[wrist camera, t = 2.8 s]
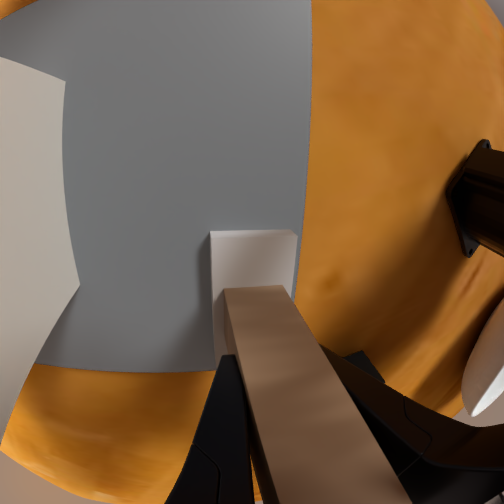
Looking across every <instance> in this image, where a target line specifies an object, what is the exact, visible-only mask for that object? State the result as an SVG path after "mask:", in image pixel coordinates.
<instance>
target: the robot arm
mask: <svg viewBox="0 0 504 504" xmlns="http://www.w3.org/2000/svg"><path fill="white" fill-rule="evenodd" d="M446 196H447V199H448V202H449V205H450V208H451V211H452V214H453V217H454V221H455V224H456V227H457V231H458V234H459V238H460V241H461V245H462V249H463V253H464V256H466V257H468V258H470V257H471V256H472V255H473V253H474V252H475V251H476V249H477V248H478V246H479V245H482V246H484V247H486V248H488V249H489V250H491V251H493V252H495V253H497V254H498V255H500V256H502V257H504V152H502V151H498V150H493V149H492V148H491V145H490V142H489V140H487V139H482V140H481V141H480V143H479V144H478V146H477V147H476V149H475V150H474V152H473V153H472V155H471V156H470V158H469V159H468V161H467V162H466V163H465V165H464V166H463V168H462V169H461V170H460V172H459V173H458V174H457V176H456V177H455V178H454V180H453V181H452V182H451V184H450V185H449V186H448V188H447V191H446ZM318 344H319V343H318ZM319 346H320V347H321V349H322V351H323V352H324V354H325V356H326V357H327V359H328V361H329V362H330V364H331V366H332V367H333V369H334V371H335V372H336V374H337V376H338V377H339V379H340V381H341V382H342V384H343V386H344V387H345V389H346V391H347V392H348V394H349V396H350V397H351V399H352V401H353V402H354V404H355V406H356V407H357V409H358V411H359V413H360V414H361V416H362V418H363V419H364V421H365V423H366V424H367V426H368V428H369V429H370V431H371V433H372V435H373V436H374V438H375V440H376V441H377V443H378V445H379V447H380V448H381V450H382V452H383V453H384V455H385V457H386V459H387V460H388V462H389V464H390V465H391V467H392V469H393V471H394V472H395V474H396V476H397V478H398V479H399V481H400V483H401V484H402V486H403V488H404V490H405V491H406V493H407V495H408V497H409V498H410V500H411V502H412V504H504V424H499V425H494V426H488V427H475V426H470V425H467V424H464V423H462V422H459V421H456V420H454V419H452V418H449V417H447V416H444V415H442V414H440V413H437V412H435V411H433V410H431V409H429V408H426V407H424V406H423V405H421V404H419V403H417V402H415V401H413V400H411V399H410V398H408V397H406V396H403V394H401V393H399V392H397V391H396V390H394V389H392V388H391V387H389V386H387V385H386V384H384V383H382V382H381V381H379V380H377V379H376V378H374V377H372V376H371V375H369V374H367V373H366V372H364V371H362V370H361V369H359V368H358V367H356V366H354V365H353V364H351V363H349V362H348V361H346V360H345V359H343V358H341V357H340V356H338V355H337V354H335V353H334V352H332V351H330V350H329V349H327V348H326V347H324V346H323V345H321V344H319ZM164 504H255V500H254V490H253V480H252V469H251V458H250V447H249V435H248V423H247V411H246V398H245V388H244V383H243V380H242V376H241V373H240V369H239V366H238V362H237V359H236V356H235V354H228V355H222V356H221V359H220V362H219V365H218V368H217V371H216V374H215V377H214V379H213V382H212V385H211V388H210V391H209V394H208V397H207V400H206V403H205V406H204V409H203V412H202V415H201V418H200V421H199V424H198V427H197V430H196V433H195V436H194V439H193V441H192V445H191V447H190V450H189V453H188V456H187V458H186V461H185V463H184V466H183V468H182V471H181V473H180V475H179V477H178V479H177V481H176V483H175V485H174V487H173V489H172V491H171V493H170V494H169V496H168V498H167V500H166V501H165V503H164Z"/></svg>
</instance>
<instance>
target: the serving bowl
mask: <svg viewBox="0 0 504 504" xmlns="http://www.w3.org/2000/svg"><path fill="white" fill-rule="evenodd" d="M461 391H462V399H463V403H464V406H465V408H466V410H467V412H468V414H469V415H470V416H471V417H474V416H476V415H478V414H479V413H480V412H482V411H483V410H484V409H485V408H487V407H488V406H489V405H490V404H491V403H492V402H493V401H494V400H495V399H496V398H497V397H498V396H499V395H500V394H501V393H502V392H503V391H504V298H503V299H502V300H501V302H500V303H499V304H498V305H497V307H496V308H495V310H494V311H493V313H492V314H491V316H490V317H489V319H488V321H487V322H486V324H485V326H484V328H483V330H482V332H481V334H480V336H479V338H478V341H477V342H476V344H475V346H474V348H473V350H472V353H471V355H470V357H469V359H468V362H467V364H466V367H465V370H464V374H463V378H462V387H461Z"/></svg>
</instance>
